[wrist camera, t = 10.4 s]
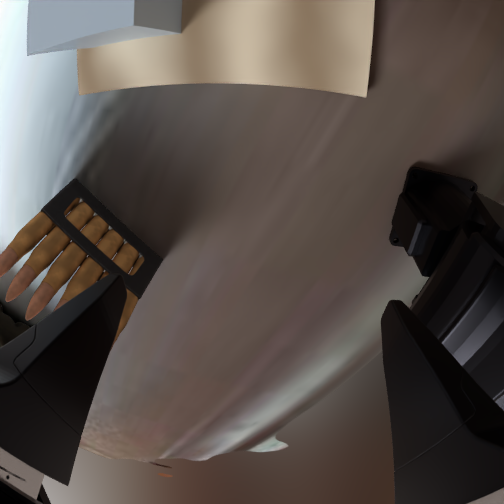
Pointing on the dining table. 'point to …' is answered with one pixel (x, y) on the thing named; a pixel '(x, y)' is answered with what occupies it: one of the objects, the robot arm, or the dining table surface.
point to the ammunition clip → (77, 252)
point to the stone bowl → (9, 328)
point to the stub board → (244, 48)
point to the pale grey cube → (97, 22)
